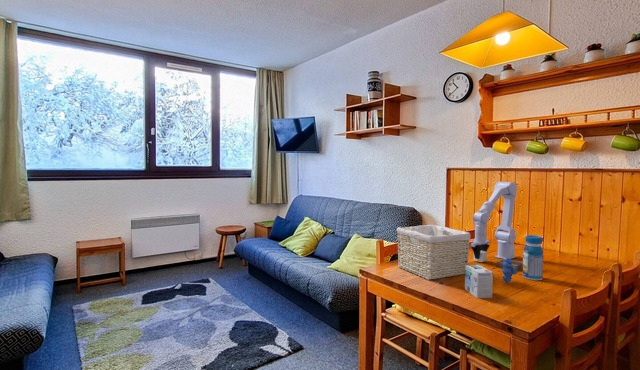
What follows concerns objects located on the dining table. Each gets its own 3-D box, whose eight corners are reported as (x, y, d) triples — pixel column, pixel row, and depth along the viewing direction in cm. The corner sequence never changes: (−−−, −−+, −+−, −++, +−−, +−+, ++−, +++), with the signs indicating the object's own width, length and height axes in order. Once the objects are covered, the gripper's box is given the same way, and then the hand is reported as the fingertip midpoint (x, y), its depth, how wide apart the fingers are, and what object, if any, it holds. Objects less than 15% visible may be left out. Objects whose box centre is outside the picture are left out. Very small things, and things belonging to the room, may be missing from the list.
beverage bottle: (535, 281, 163) (537, 239, 162) (518, 276, 170) (519, 235, 169) (546, 279, 167) (548, 237, 166) (529, 274, 174) (530, 234, 173)
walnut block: (506, 264, 193) (506, 258, 193) (525, 268, 185) (525, 263, 185) (496, 267, 187) (496, 261, 187) (515, 272, 179) (515, 266, 179)
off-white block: (478, 258, 200) (478, 249, 199) (486, 260, 196) (486, 251, 195) (473, 260, 197) (473, 251, 197) (481, 262, 193) (481, 253, 192)
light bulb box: (464, 289, 154) (464, 264, 153) (479, 288, 154) (479, 264, 154) (477, 298, 143) (477, 272, 143) (493, 298, 144) (493, 272, 143)
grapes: (515, 288, 154) (516, 261, 153) (498, 285, 158) (499, 259, 157) (519, 281, 163) (520, 256, 163) (503, 278, 167) (504, 253, 167)
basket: (433, 261, 198) (434, 222, 197) (472, 274, 174) (473, 231, 173) (394, 267, 187) (394, 226, 186) (430, 282, 163) (431, 236, 161)
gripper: (481, 231, 203) (480, 254, 203) (466, 234, 195) (465, 258, 195) (493, 233, 197) (492, 257, 198) (478, 236, 189) (477, 261, 190)
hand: (480, 257), depth 196 cm, fingers closed on off-white block, 5 cm apart
